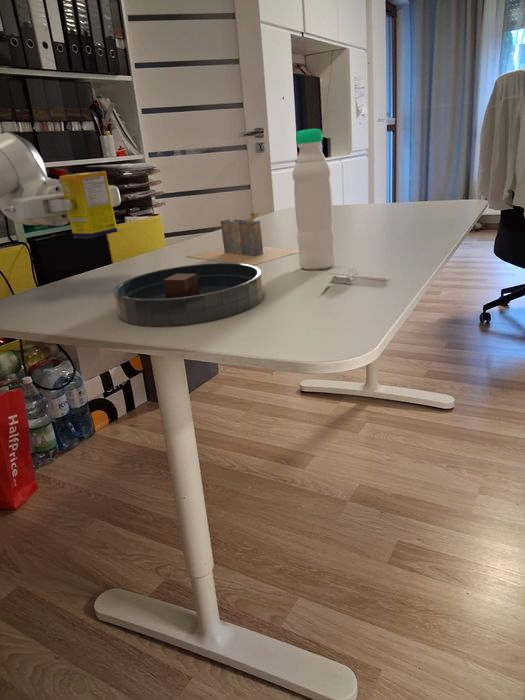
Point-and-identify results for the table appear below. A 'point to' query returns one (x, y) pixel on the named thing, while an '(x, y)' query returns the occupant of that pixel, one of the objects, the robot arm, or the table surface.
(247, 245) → the architectural model on board
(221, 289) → the bowl
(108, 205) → the supplement box
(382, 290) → the table surface
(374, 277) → the picture light
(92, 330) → the table surface
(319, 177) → the water bottle
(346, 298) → the table surface
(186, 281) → the block
